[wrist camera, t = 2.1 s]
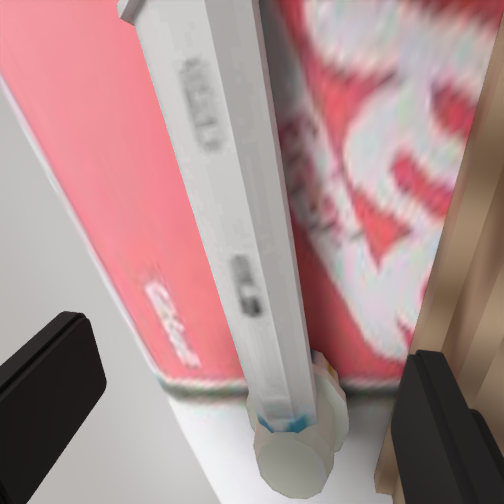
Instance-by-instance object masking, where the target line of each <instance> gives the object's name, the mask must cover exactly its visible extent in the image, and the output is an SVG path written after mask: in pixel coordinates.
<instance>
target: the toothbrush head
mask: <svg viewBox="0 0 504 504" xmlns="http://www.w3.org/2000/svg"><path fill="white" fill-rule="evenodd" d="M259 1H260V0H119V1H118V3H117V5H116V6H117V10H118V13H119V17H120V19H122V20H124V21H126V22H128V23H130V24H131V25H133V26H135V28H136V31H137V35H138V38H139V41H140V44H141V47H142V51H143V54H144V57H145V60H146V63H147V67H148V70H149V73H150V76H151V79H152V83H153V86H154V89H155V92H156V95H157V98H158V102H159V105H160V108H161V111H162V114H163V118H164V121H165V124H166V127H167V130H168V134H169V137H170V140H171V143H172V146H173V150H174V153H175V156H176V159H177V162H178V166H179V169H180V172H181V175H182V178H183V182H184V185H185V188H186V191H187V194H188V198H189V201H190V204H191V207H192V210H193V214H194V217H195V220H196V223H197V226H198V230H199V233H200V236H201V239H202V242H203V246H204V249H205V252H206V255H207V258H208V261H209V265H210V268H211V271H212V274H213V277H214V281H215V284H216V287H217V290H218V293H219V297H220V300H221V303H222V306H223V309H224V313H225V316H226V319H227V322H228V325H229V329H230V332H231V335H232V338H233V341H234V345H235V348H236V351H237V354H238V357H239V361H240V364H241V367H242V370H243V373H244V377H245V380H246V383H247V386H248V389H249V394H248V398H247V401H246V408H247V412H248V416H249V419H250V423H251V427H252V429H253V430H254V432H255V438H254V451H255V455H256V460H257V464H258V468H259V471H260V475H261V477H262V478H263V479H264V480H265V482H266V483H267V484H268V485H269V486H270V487H271V488H272V490H274V491H276V492H278V493H280V494H282V495H284V496H286V497H288V498H296V499H308V498H310V497H312V496H314V495H316V494H318V493H320V492H321V491H322V489H323V487H324V485H325V483H326V481H327V479H328V477H329V475H330V472H331V470H332V468H333V463H334V453H335V452H337V451H339V450H340V448H341V446H342V444H343V442H344V440H345V438H346V436H347V434H348V432H349V430H350V425H349V416H348V409H347V402H346V396H345V393H344V391H343V390H342V389H341V387H340V385H339V378H338V372H337V370H334V369H333V367H332V366H331V365H330V364H329V362H328V361H327V360H326V358H325V357H324V356H323V353H321V352H318V351H316V350H314V349H311V348H310V347H309V340H308V333H307V326H306V319H305V313H304V306H303V299H302V292H301V286H300V279H299V272H298V265H297V259H296V252H295V245H294V238H293V232H292V225H291V218H290V211H289V205H288V198H287V191H286V184H285V178H284V171H283V164H282V157H281V151H280V144H279V137H278V130H277V123H276V117H275V110H274V103H273V96H272V90H271V83H270V76H269V69H268V63H267V56H266V49H265V42H264V36H263V29H262V22H261V15H260V9H259Z"/></svg>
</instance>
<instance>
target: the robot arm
mask: <svg viewBox="0 0 504 504" xmlns="http://www.w3.org/2000/svg"><path fill="white" fill-rule="evenodd" d="M106 383H107V381H106V377H105V373H104V370H103V366H102V363H101V359H100V355H99V352H98V348H97V345H96V341H95V337H94V334H93V331H92V327H91V323H90V321H89V319H87V318H86V316H85V315H84V314H83V313H77V312H68V311H64V312H61V313H60V314H58V315H57V316H56V317H55V318H54V319H53V320H52V321H51V322H49V323H48V324H47V325H46V326H45V327H44V328H43V329H42V330H41V331H39V332H38V333H37V334H36V335H35V336H34V337H33V338H32V339H30V340H29V341H28V342H27V343H26V344H25V345H24V346H22V347H21V348H20V349H19V350H18V351H17V352H16V353H15V354H13V355H12V356H11V357H10V358H9V359H8V360H7V361H6V362H5V363H3V364H2V365H1V366H0V504H26V503H27V502H28V501H29V500H30V498H31V497H32V495H33V494H34V492H35V491H36V490H37V488H38V487H39V485H40V484H41V482H42V481H43V479H44V478H45V477H46V475H47V474H48V472H49V471H50V469H51V468H52V467H53V465H54V464H55V462H56V461H57V459H58V458H59V456H60V455H61V453H62V452H63V451H64V449H65V448H66V446H67V445H68V443H69V442H70V441H71V439H72V438H73V436H74V434H75V433H76V432H77V430H78V429H79V427H80V426H81V425H82V423H83V422H84V420H85V419H86V418H87V416H88V415H89V413H90V412H91V410H92V409H93V407H94V406H95V405H96V403H97V402H98V400H99V399H100V397H101V396H102V394H103V393H104V391H105V389H106ZM391 437H392V442H393V446H394V451H395V456H396V461H397V466H398V470H399V475H400V480H401V485H402V489H403V494H404V499H405V504H504V457H503V455H502V453H501V451H500V449H499V447H498V445H497V443H496V441H495V439H494V437H493V435H492V433H491V431H490V429H489V427H488V425H487V423H486V421H485V419H484V417H483V416H482V414H481V413H480V412H479V411H478V410H475V409H469V407H468V405H467V403H466V401H465V399H464V397H463V394H462V392H461V390H460V388H459V386H458V384H457V382H456V379H455V377H454V375H453V373H452V371H451V369H450V367H449V364H448V362H447V360H446V358H445V356H444V354H443V353H442V352H438V351H429V350H417V351H416V353H415V355H414V354H409V355H408V358H407V362H406V365H405V369H404V373H403V377H402V381H401V385H400V388H399V392H398V396H397V400H396V404H395V407H394V411H393V415H392V419H391Z"/></svg>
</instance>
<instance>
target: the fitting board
mask: <svg viewBox="0 0 504 504" xmlns="http://www.w3.org/2000/svg"><path fill="white" fill-rule="evenodd" d="M417 350H429V351H438V352H442V353H443V354H444V356H445V358H446V360H447V362H448V364H449V367H450V369H451V371H452V373H453V375H454V377H455V379H456V382H457V384H458V386H459V388H460V390H461V392H462V394H463V397H464V399H465V401H466V403H467V405H468V407H469V409H475V410H478V411H479V412H480V413H481V414H482V416H483V417H484V419H485V421H486V423H487V425H488V427H489V429H490V431H491V433H492V435H493V437H494V439H495V441H496V443H497V445H498V447H499V449H500V451H501V453H502V455H503V457H504V12H503V16H502V20H501V23H500V27H499V30H498V34H497V38H496V41H495V45H494V48H493V52H492V55H491V59H490V63H489V66H488V70H487V73H486V77H485V81H484V84H483V88H482V91H481V95H480V98H479V102H478V106H477V109H476V113H475V116H474V120H473V124H472V127H471V131H470V134H469V138H468V141H467V145H466V149H465V152H464V156H463V159H462V163H461V167H460V170H459V174H458V177H457V181H456V184H455V188H454V192H453V195H452V199H451V202H450V206H449V210H448V213H447V217H446V220H445V224H444V227H443V231H442V235H441V238H440V242H439V245H438V249H437V253H436V256H435V260H434V263H433V267H432V270H431V274H430V278H429V281H428V285H427V288H426V292H425V296H424V299H423V303H422V306H421V310H420V313H419V317H418V321H417V324H416V328H415V331H414V335H413V339H412V342H411V346H410V349H409V353H408V355H409V354H414V355H415V353H416V351H417ZM407 358H408V356H407ZM406 362H407V360H406ZM405 365H406V364H405ZM404 369H405V367H404ZM403 373H404V371H403ZM402 377H403V374H402ZM401 381H402V378H401ZM400 385H401V382H400ZM400 385H399V388H400ZM398 392H399V389H398ZM398 392H397V396H398ZM397 396H396V399H395V403H394V407H395V404H396V400H397ZM394 407H393V410H392V414H391V417H390V421H389V425H388V428H387V432H386V435H385V439H384V442H383V446H382V450H381V453H380V457H379V460H378V464H377V468H376V471H375V475H374V481H375V488H376V493H382V494H388V495H392V499H393V504H405V499H404V494H403V489H402V485H401V480H400V475H399V470H398V466H397V461H396V456H395V451H394V446H393V442H392V437H391V419H392V415H393V411H394Z"/></svg>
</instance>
